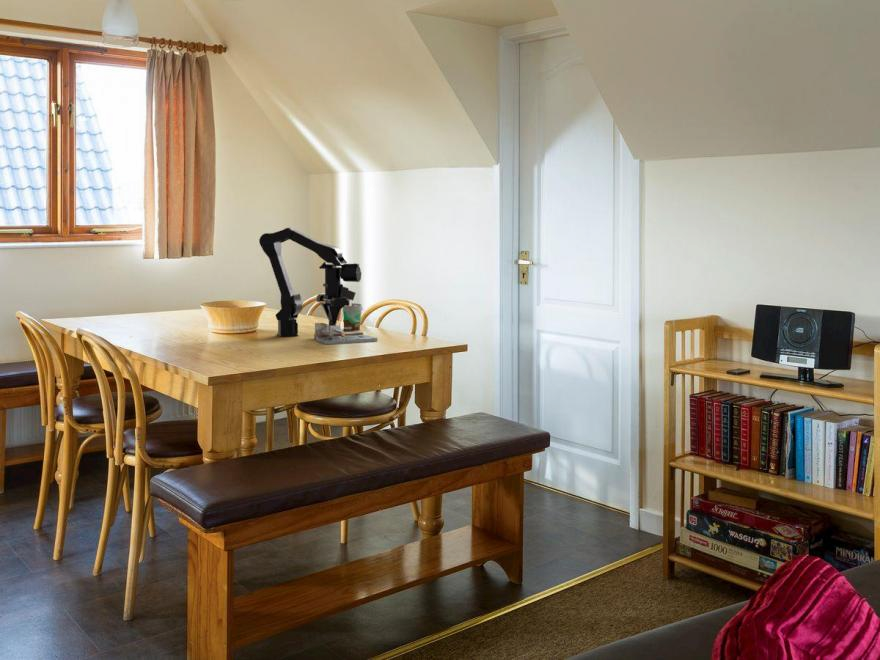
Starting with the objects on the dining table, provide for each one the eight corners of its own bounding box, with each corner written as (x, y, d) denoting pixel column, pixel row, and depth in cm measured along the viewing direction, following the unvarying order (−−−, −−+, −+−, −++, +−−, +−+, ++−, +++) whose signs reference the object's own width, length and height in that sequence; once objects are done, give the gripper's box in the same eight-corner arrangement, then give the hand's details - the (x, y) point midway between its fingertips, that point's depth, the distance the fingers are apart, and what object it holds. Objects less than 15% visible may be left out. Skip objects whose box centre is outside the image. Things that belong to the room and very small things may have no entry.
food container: (357, 332, 355) (357, 306, 354) (342, 331, 356) (342, 306, 355) (366, 328, 367) (366, 303, 366) (352, 327, 368) (351, 303, 367)
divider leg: (338, 337, 328) (338, 314, 327) (325, 332, 339) (325, 311, 338) (348, 336, 330) (348, 314, 329) (335, 332, 341) (335, 310, 340)
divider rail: (326, 342, 326) (326, 327, 325) (313, 337, 337) (313, 323, 337) (372, 339, 334) (372, 324, 334) (358, 335, 346) (358, 320, 345)
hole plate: (325, 344, 321) (325, 340, 321) (315, 340, 330) (315, 337, 330) (377, 341, 330) (377, 337, 330) (366, 337, 339) (366, 334, 339)
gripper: (362, 282, 331) (362, 325, 333) (343, 278, 347) (343, 319, 349) (334, 283, 326) (334, 326, 328) (316, 279, 342) (316, 320, 344)
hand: (332, 323), depth 338 cm, fingers closed on divider leg, 3 cm apart
